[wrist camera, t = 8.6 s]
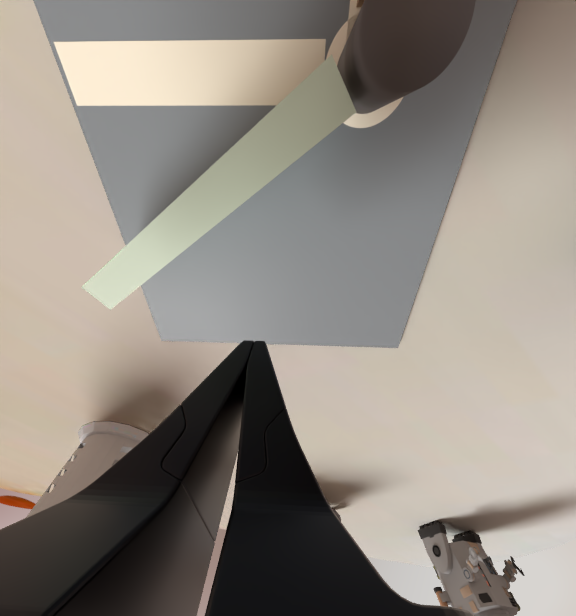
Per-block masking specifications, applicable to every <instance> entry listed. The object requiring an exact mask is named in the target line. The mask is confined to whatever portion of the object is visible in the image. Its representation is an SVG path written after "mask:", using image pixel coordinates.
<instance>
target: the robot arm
mask: <svg viewBox="0 0 576 616" xmlns="http://www.w3.org/2000/svg"><path fill="white" fill-rule="evenodd" d="M181 405H182V406H181ZM181 405H179V406H178V407H177V408H176V409H175V410H174V411H173V412H172V413H171V414H170V415H169V416H168V417H167V418H166V419H165V420H164V421H163V422H162V423H161V424H160V425H159V426H158V427H157V428H155V429H154V430H153V431H152V432H151V433H150V434H149V435H148V436H146V437H145V438H144V439H143V440H142V441H141V442H140V443H138V444H137V445H136V446H135V447H134V448H133V449H131V450H130V451H129V452H128V453H127V454H126V455H124V456H123V457H122V458H121V459H120V460H119V461H117V462H116V463H115V464H114V465H113V466H112V467H110V468H109V469H108V470H107V471H106V472H105V473H103V474H102V475H101V476H100V477H99V478H97V479H96V480H95V481H94V482H92V483H91V484H90V485H88V486H87V487H86V488H84V489H83V490H81V491H80V492H78V493H77V494H75V495H73V496H71V497H70V498H68V499H66V500H64V501H62V502H60V503H58V504H55V505H53V506H51V507H49V508H47V509H44V510H42V511H40V512H38V513H36V514H34V515H31V516H29V517H27V518H25V519H23V520H20V521H18V522H16V523H14V524H12V525H9V526H7V527H5V528H3V529H1V530H0V616H196V615H197V611H198V608H199V603H200V600H201V596H202V592H203V588H204V584H205V580H206V576H207V571H208V568H209V564H210V560H211V556H212V552H213V548H214V541H215V540H216V536H217V532H218V528H219V524H220V520H221V516H222V512H223V508H224V504H225V500H226V496H227V492H228V488H229V484H230V480H231V476H232V472H233V468H234V464H235V460H236V456H237V452H238V459H237V469H236V479H235V484H236V485H235V490H234V498H233V504H232V510H231V514H230V518H229V522H228V526H227V530H226V535H225V538H224V542H223V546H222V550H221V554H220V558H219V562H218V566H217V570H216V574H215V577H214V581H213V585H212V589H211V594H210V597H209V601H208V605H207V609H206V613H205V616H475V615H474V614H473V613H472V612H470V611H467V610H464V609H459V608H454V607H446V606H431V605H420V604H416V603H412V602H410V601H408V600H406V599H405V598H403V597H401V596H400V595H399V594H397V593H396V592H395V591H394V590H392V589H391V588H390V586H389V585H388V584H387V583H386V582H385V581H384V580H383V578H382V577H381V576H380V574H379V573H378V572H377V570H376V569H375V568H374V566H373V565H372V564H371V562H370V561H369V560H368V558H367V557H366V555H365V554H364V553H363V551H362V550H361V549H360V547H359V546H358V545H357V543H356V542H355V541H354V539H353V538H352V536H351V535H350V534H349V532H348V531H347V530H346V528H345V527H344V526H343V524H342V523H341V522H340V520H339V519H338V518H337V516H336V515H335V513H334V512H333V510H332V508H331V507H330V505H329V503H328V502H327V500H326V498H325V496H324V494H323V492H322V490H321V488H320V486H319V484H318V482H317V480H316V478H315V476H314V474H313V472H312V470H311V467H310V465H309V463H308V461H307V459H306V457H305V455H304V453H303V451H302V449H301V446H300V444H299V442H298V439H297V437H296V435H295V432H294V430H293V427H292V424H291V421H290V418H289V415H288V412H287V409H286V406H285V403H284V400H283V396H282V393H281V390H280V387H279V384H278V380H277V377H276V374H275V371H274V368H273V365H272V361H271V358H270V355H269V352H268V349H267V345H266V342H265V341H255V342H254V341H252V340H244V341H242V342H241V343H240V344H239V345H238V346H237V347H236V348H235V349H234V350H233V351H232V352H231V353H230V354H229V355H228V356H227V357H226V358H225V359H224V361H223V362H222V363H221V364H220V365H219V366H218V367H217V368H216V369H215V370H214V371H213V372H212V373H211V374H210V375H209V376H208V377H207V378H206V379H205V380H204V381H203V382H202V383H201V384H200V385H199V386H198V387H197V388H196V389H195V390H194V391H193V392H192V393H191V394H190V395H189V396H188V397H187V398H186V399H185V400H184V401H183V402H182V403H181Z"/></svg>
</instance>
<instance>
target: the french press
mask: <svg viewBox="0 0 576 616" xmlns="http://www.w3.org/2000/svg"><path fill="white" fill-rule="evenodd" d="M78 435H79V440H80V443H81V444H80V445H79V447H78V448H77V450H76V451H75V452H74V453H73V455H74V459H73V462H71V458H72V456H71V457H70V459H69V460H68V461H67V463H66V464H65V466H64V467H63V468H62V469H65V471H64V475H63V476H60V474H61V472H62V470H61V471H60V472H59V474H58V475H57V476H56V478H55V479H54V480H53V482H52V483H51V485H52V484H54V488H53V490H52V491H51V493H49V490H50V487H51V485H50V486H49V487H48V489H47V490H46V491H45V492H44V494H43V495H42V497H41V498H40V499H39V501H38V502H37V503H36V505H35V506H34V508H33V509H32V510H31V512H30V513H29V515H28V516H27V517H29V516H31V515H34V514H36V513H38V512H40V511H42V510H44V509H47V508H49V507H51V506H53V505H55V504H58V503H60V502H62V501H64V500H66V499H68V498H70V497H71V496H73V495H75V494H77V493H78V492H80V491H81V490H83V489H84V488H86V487H87V486H88V485H90V484H91V483H92V482H94V481H95V480H96V479H97V478H99V477H100V476H101V475H102V474H103V473H105V472H106V471H107V470H108V469H109V468H110V467H112V466H113V465H114V464H115V463H116V462H117V461H119V460H120V459H121V458H122V457H123V456H124V455H126V454H127V453H128V452H129V451H130V450H131V449H133V448H134V447H135V446H136V445H137V444H138V443H140V442H141V441H142V440H143V439H144V438H145V437H146V436H148V435H149V434H148V433H147V432H145V431H142V430H140V429H137V428H135V427H132V426H130V425H126V424H121V423H116V422H111V421H101V422H91V423H88V424H86V425H83V426H82V427H81V429H80V430H79V432H78ZM27 517H26V518H27Z"/></svg>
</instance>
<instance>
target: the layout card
mask: <svg viewBox="0 0 576 616" xmlns="http://www.w3.org/2000/svg"><path fill="white" fill-rule="evenodd" d="M516 2H517V0H476V1H475V8H474V12H473V17H472V21H471V24H470V27H469V30H468V32H467V35H466V37H465V39H464V41H463V43H462V45H461V47H460V49H459V51H458V52H457V54H456V56H455V57H454V59H453V60H452V61H451V63H450V64H449V65H448V67H447V68H446V69H445V70H444V71H443V72H442V73H441V74H440V75H439V76H438V77H437V78H436V79H434V80H433V81H432V82H430V83H429V84H427V85H425V86H424V87H422V88H420V89H418V90H416V91H414V92H412V93H410V94H408V95H406V96H404V97H402V98H400V99H398V100H396V101H394V102H392V103H390V104H388V105H386V106H384V107H381V108H379V109H377V110H375V111H373V112H371V113H367V114H357V113H355V114H353V115H352V116H351V117H350V118H348V119H347V120H346V121H345V122H343V123H342V124H341V125H340V126H338V127H337V128H336V129H335V130H333V131H332V132H331V133H330V134H328V135H327V136H326V137H325V138H323V139H322V140H321V141H320V142H319V143H317V144H316V145H315V146H314V147H312V148H311V149H310V150H309V151H307V152H306V153H305V154H304V155H302V156H301V157H300V158H299V159H297V160H296V161H295V162H294V163H292V164H291V165H290V166H289V167H287V168H286V169H285V170H284V171H282V172H281V173H280V174H279V175H278V176H276V177H275V178H274V179H273V180H271V181H270V182H269V183H268V184H266V185H265V186H264V187H263V188H261V189H260V190H259V191H258V192H256V193H255V194H254V195H253V196H251V197H250V198H249V199H248V200H246V201H245V202H244V203H243V204H241V205H240V206H239V207H238V208H237V209H235V210H234V211H233V212H232V213H230V214H229V215H228V216H227V217H225V218H224V219H223V220H222V221H220V222H219V223H218V224H217V225H215V226H214V227H213V228H212V229H210V230H209V231H208V232H207V233H205V234H204V235H203V236H202V237H200V238H199V239H198V240H197V241H196V242H194V243H193V244H192V245H191V246H189V247H188V248H187V249H186V250H184V251H183V252H182V253H181V254H179V255H178V256H177V257H176V258H174V259H173V260H172V261H171V262H169V263H168V264H167V265H166V266H164V267H163V268H162V269H161V270H159V271H158V272H157V273H156V274H155V275H153V276H152V277H151V278H150V279H148V280H147V281H146V282H145V283H143V284H142V285H141V287H142V290H143V293H144V295H145V298H146V301H147V303H148V306H149V309H150V311H151V314H152V317H153V319H154V322H155V325H156V327H157V330H158V333H159V335H160V338H161V341H188V342H220V343H241V342H242V341H244V340H252V341H254V342H255V341H265V342H266V344H286V345H318V346H351V347H383V348H398V346H399V343H400V340H401V337H402V335H403V332H404V329H405V326H406V323H407V320H408V317H409V314H410V311H411V308H412V305H413V302H414V300H415V297H416V294H417V291H418V288H419V285H420V282H421V279H422V276H423V273H424V270H425V268H426V265H427V262H428V259H429V256H430V253H431V250H432V247H433V244H434V241H435V238H436V235H437V233H438V230H439V227H440V224H441V221H442V218H443V215H444V212H445V209H446V206H447V203H448V200H449V198H450V195H451V192H452V189H453V186H454V183H455V180H456V177H457V174H458V171H459V168H460V165H461V163H462V160H463V157H464V154H465V151H466V148H467V145H468V142H469V139H470V136H471V133H472V131H473V128H474V125H475V122H476V119H477V116H478V113H479V110H480V107H481V104H482V101H483V98H484V96H485V93H486V90H487V87H488V84H489V81H490V78H491V75H492V72H493V69H494V66H495V63H496V61H497V58H498V55H499V52H500V49H501V46H502V43H503V40H504V37H505V34H506V31H507V29H508V26H509V23H510V20H511V17H512V14H513V11H514V8H515V5H516ZM34 3H35V6H36V8H37V11H38V14H39V16H40V19H41V22H42V24H43V27H44V30H45V32H46V35H47V38H48V40H49V43H50V46H51V48H52V51H53V54H54V56H55V59H56V62H57V64H58V67H59V70H60V72H61V75H62V78H63V80H64V83H65V85H66V88H67V91H68V93H69V96H70V99H71V101H72V104H73V107H74V109H75V112H76V115H77V117H78V120H79V123H80V125H81V128H82V131H83V133H84V136H85V139H86V141H87V144H88V147H89V149H90V152H91V155H92V157H93V160H94V163H95V165H96V168H97V171H98V173H99V176H100V178H101V181H102V184H103V186H104V189H105V192H106V194H107V197H108V200H109V202H110V205H111V208H112V210H113V213H114V216H115V218H116V221H117V224H118V226H119V229H120V232H121V234H122V237H123V240H124V242H125V245H127V244H128V243H129V242H130V241H132V240H133V239H134V238H135V237H136V236H137V235H138V234H139V233H140V232H141V231H142V230H143V229H144V228H146V227H147V226H148V225H149V224H150V223H151V222H152V221H153V220H154V219H155V218H156V217H157V216H158V215H159V214H161V213H162V212H163V211H164V210H165V209H166V208H167V207H168V206H169V205H170V204H171V203H172V202H173V201H175V200H176V199H177V198H178V197H179V196H180V195H181V194H182V193H183V192H184V191H185V190H186V189H187V188H189V187H190V186H191V185H192V184H193V183H194V182H195V181H196V180H197V179H198V178H199V177H200V176H201V175H202V174H204V173H205V172H206V171H207V170H208V169H209V168H210V167H211V166H212V165H213V164H214V163H215V162H216V161H218V160H219V159H220V158H221V157H222V156H223V155H224V154H225V153H226V152H227V151H228V150H229V149H230V148H231V147H233V146H234V145H235V144H236V143H237V142H238V141H239V140H240V139H241V138H242V137H243V136H244V135H245V134H247V133H248V132H249V131H250V130H251V129H252V128H253V127H254V126H255V125H256V124H257V123H258V122H259V121H261V120H262V119H263V118H264V117H265V116H266V115H267V114H268V113H269V112H270V111H271V110H272V109H273V108H274V107H276V106H277V105H278V104H279V103H280V102H281V101H282V100H283V99H284V98H285V97H286V96H287V95H288V94H290V93H291V92H292V91H293V90H294V89H295V88H296V87H297V86H298V85H299V84H300V83H301V82H302V81H304V80H305V79H306V78H307V77H308V76H309V75H310V74H311V73H312V72H313V71H314V70H315V69H316V68H317V67H319V66H320V65H321V64H322V63H323V62H324V61H325V60H326V59H327V58H328V57H329V56H330V55H331V54H332V56H333V58H334V61H335V63H336V65H337V64H338V61H339V58H340V55H341V53H342V51H343V48H344V46H345V44H346V41H347V39H348V37H349V35H350V32H351V30H352V28H353V25H354V23H355V21H356V19H357V16H358V14H359V12H360V9H361V7H356V5H357V0H34Z"/></svg>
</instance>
